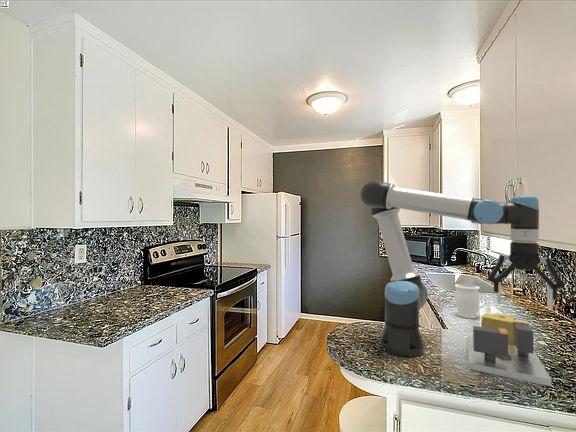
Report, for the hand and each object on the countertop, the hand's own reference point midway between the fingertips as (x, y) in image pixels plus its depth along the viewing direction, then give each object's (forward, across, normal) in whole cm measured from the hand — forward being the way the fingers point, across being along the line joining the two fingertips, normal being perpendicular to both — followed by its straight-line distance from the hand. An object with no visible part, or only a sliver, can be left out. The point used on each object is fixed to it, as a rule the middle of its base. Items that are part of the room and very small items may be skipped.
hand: (523, 305), depth 102 cm
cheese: (+19, -5, +16) cm, 25 cm away
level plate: (+19, -6, -4) cm, 20 cm away
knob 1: (+17, -10, -10) cm, 22 cm away
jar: (+19, -14, +47) cm, 53 cm away
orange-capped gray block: (+16, 0, 0) cm, 17 cm away
